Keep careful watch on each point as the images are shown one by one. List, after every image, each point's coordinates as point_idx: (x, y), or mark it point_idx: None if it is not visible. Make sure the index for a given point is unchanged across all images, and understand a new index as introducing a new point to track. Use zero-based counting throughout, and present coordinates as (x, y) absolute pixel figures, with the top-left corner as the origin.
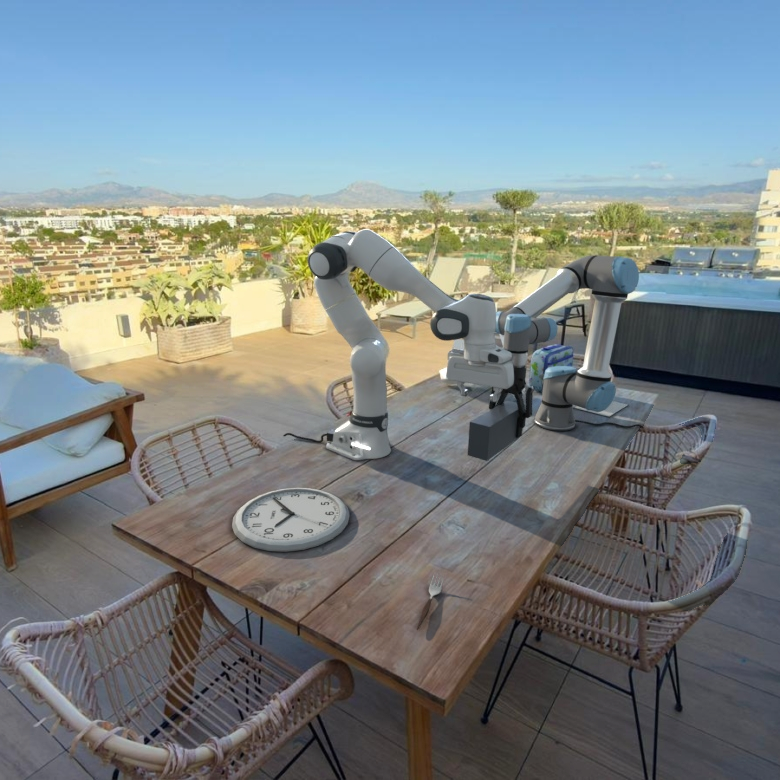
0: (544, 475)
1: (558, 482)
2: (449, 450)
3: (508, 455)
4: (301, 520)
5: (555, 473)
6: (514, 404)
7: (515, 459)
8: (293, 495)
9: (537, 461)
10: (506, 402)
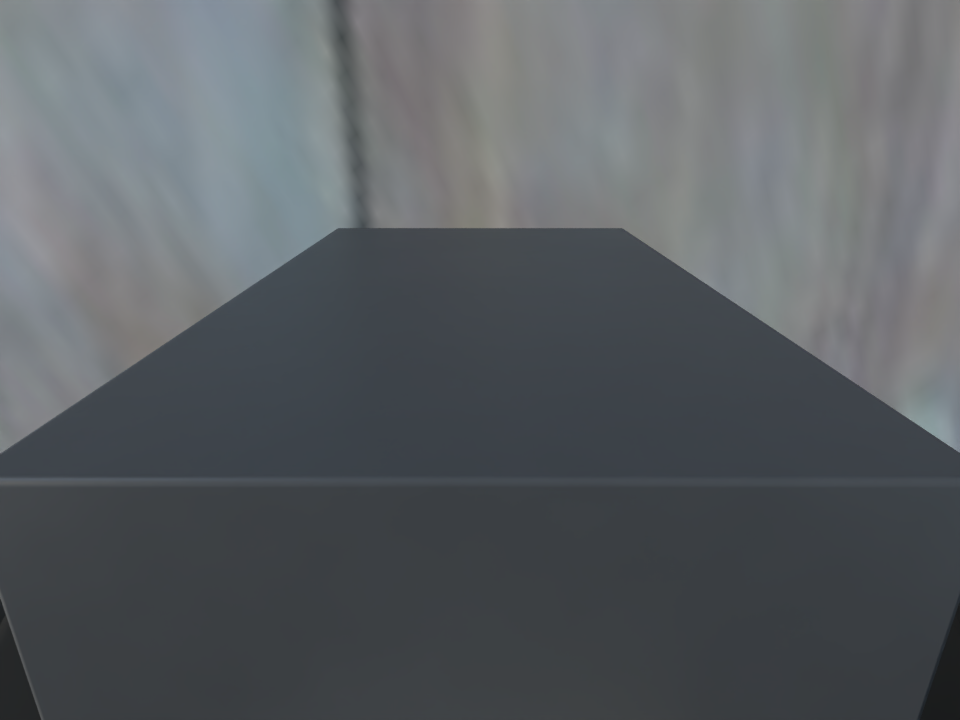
0: (835, 342)
1: (953, 387)
2: (9, 394)
3: (443, 158)
4: None
5: (914, 252)
6: (545, 716)
7: (532, 202)
8: None
9: (720, 108)
10: (144, 692)
